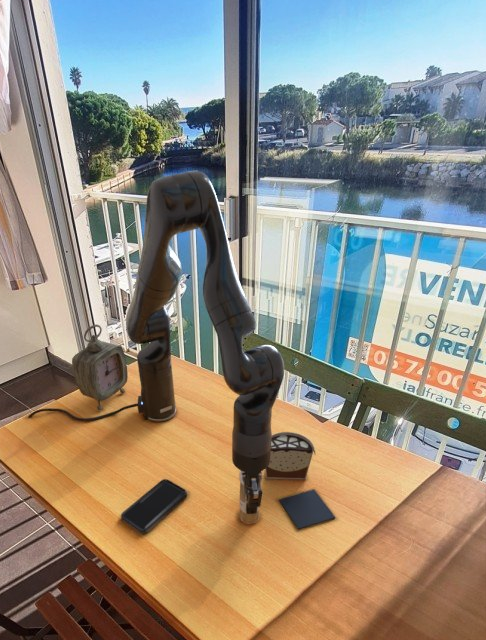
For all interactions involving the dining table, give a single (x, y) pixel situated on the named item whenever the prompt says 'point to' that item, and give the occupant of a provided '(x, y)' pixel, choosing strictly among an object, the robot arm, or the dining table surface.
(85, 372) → the tabletop clock
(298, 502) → the slate coaster
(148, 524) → the phone
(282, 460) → the food container
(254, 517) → the sprinkles bottle
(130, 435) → the dining table surface
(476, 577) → the dining table surface
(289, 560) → the dining table surface
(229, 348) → the robot arm
